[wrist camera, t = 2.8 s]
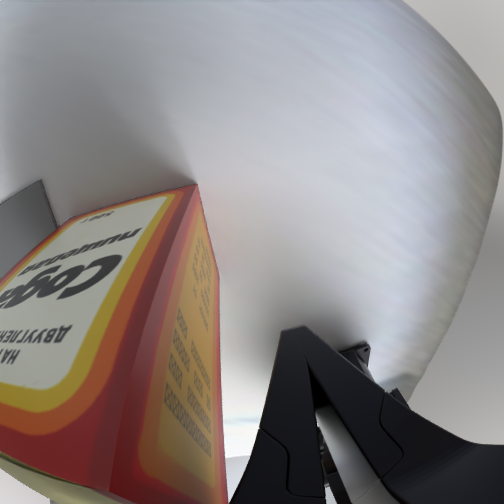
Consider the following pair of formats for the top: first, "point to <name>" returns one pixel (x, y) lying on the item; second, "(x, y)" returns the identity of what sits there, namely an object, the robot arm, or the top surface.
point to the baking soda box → (116, 358)
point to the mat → (23, 224)
